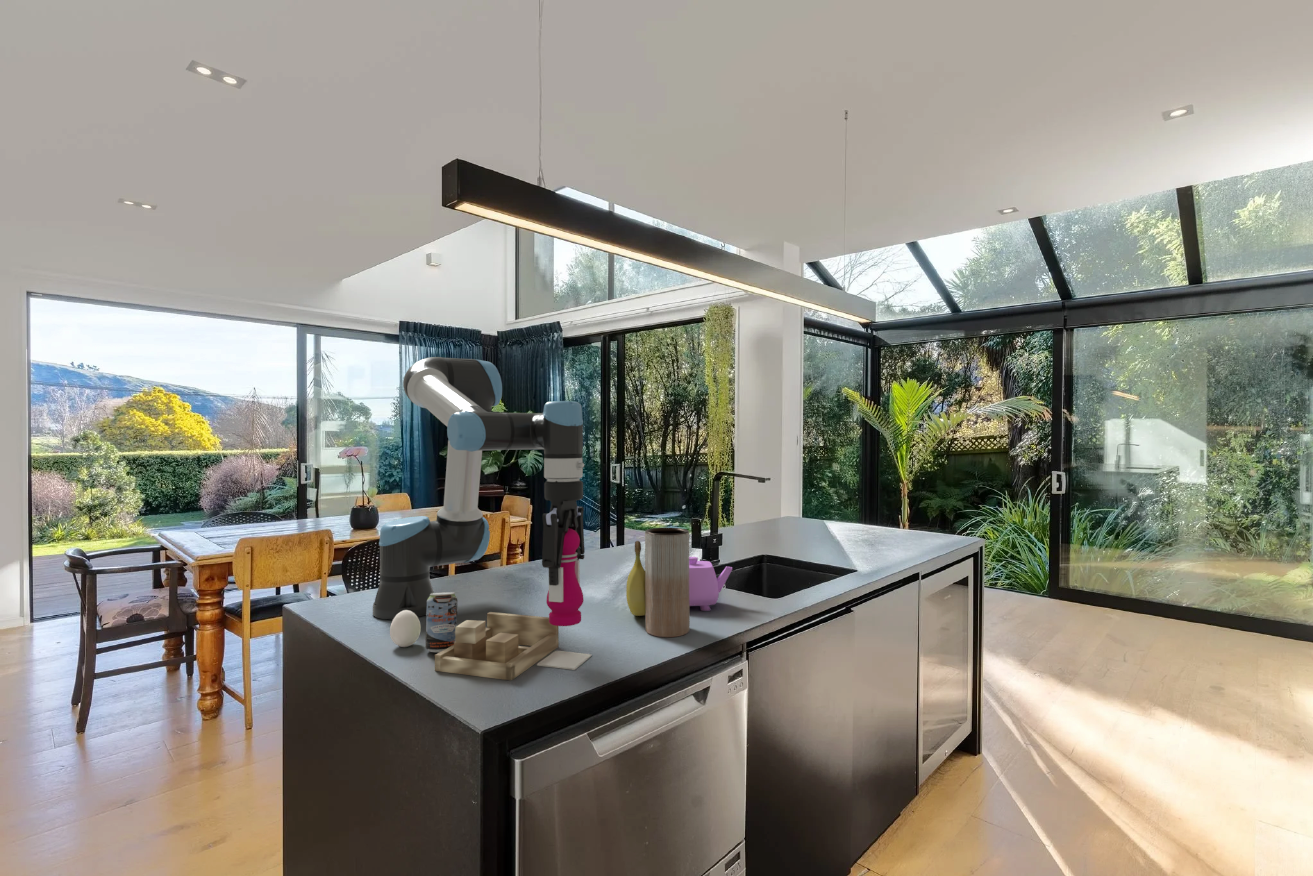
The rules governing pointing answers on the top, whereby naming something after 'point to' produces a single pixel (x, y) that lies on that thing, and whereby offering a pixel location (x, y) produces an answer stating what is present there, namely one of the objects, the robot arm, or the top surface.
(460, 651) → the block
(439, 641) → the beverage can
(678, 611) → the planter
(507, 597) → the top surface
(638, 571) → the banana
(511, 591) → the top surface
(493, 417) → the robot arm
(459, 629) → the block
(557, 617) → the pepper mill
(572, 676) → the top surface
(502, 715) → the top surface
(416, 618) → the egg
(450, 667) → the tray
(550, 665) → the mat
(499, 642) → the block
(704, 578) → the teapot
